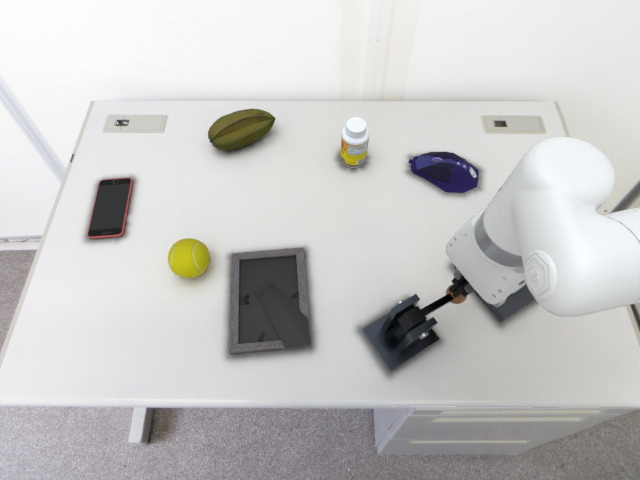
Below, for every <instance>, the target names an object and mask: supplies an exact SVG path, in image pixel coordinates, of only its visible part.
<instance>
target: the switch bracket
mask: <svg viewBox="0 0 640 480" xmlns="http://www.w3.org/2000/svg"><path fill="white" fill-rule="evenodd" d="M420 300H421V298H420V297H419V295H418V294H417V293H415V294H413V295H410V296H409V297H408V298H406V299H401V300H399V301H397V303H395V306H394V307H392V308H391V309H390V311H388V312H387V313H386V314H384V315H383V316H381V317H379V318H378V319H376V320H374V321H373V322H371V323H369V324H368V325H366V326H364V327H363V328H362V332H363V334H364V335H365V337H366V339H367V340H368V342H369V343H370V345H371V346H372V348H373V349H374V351H375V352H376V354H377V355H378V357H379V359H380V360H381V361H382V363H383V365H384V366H385V368H386V369H387V371H388V372H389V373H391V372H393V371H395V370H396V369H398V368H399V367H400V366H402V365H403V364H405V363H406V362H409V361H410V360H411V359H412V358H414V357H416V356H417V355H419V354H420V353H422V352H424V351H425V350H426V349H428V348H429V347H431V346H432V345H434V344H436V342H439V340H441V339H440V337H439V336H438V334H437V333H436V332H435V330H434V327H435V326H436V325H437V324H439V322H438V321H437V320H436V318H435V317H434V316H432V317H431V318H429V319H427V318H426V319H425V320H424V321H423V322H422V323H421V324H420V325H418V326H417V327H415V328H413V329H411V330H410V331H408V332H406V331H405V330H404V329H403V327H402V326H401V324H400V323H399V321H398V319H399V318H400V317H401V316H402V315H403V314H404V313H405V312H407V311H409V310H410V309H412V308H414V307H416V306H417V305H418V303H419V302H420Z"/></svg>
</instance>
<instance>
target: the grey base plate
mask: <svg viewBox="0 0 640 480" xmlns="http://www.w3.org/2000/svg"><path fill="white" fill-rule="evenodd" d="M454 269H455V266H454ZM476 295H477V297H478V298H479V299H480V300H481V302H483V304H484V306H486V307H487V309H488V310H489V311H490V312H491V314H492V315H493V316H494V317H495V319H497V321H498V322H499V323H501V322H503V321H505V320H506V319H508V318H509V317H511V316H512V315H513V314H515V313H516V312H518V311H519V310H521V309H522V308H524V307H526V306H527V305H528V304H530V303H531V302H533V301H535V298H534V297H533V295H532V293H531V292H530V290H529V289H528V287H527V284H525V285H524V286H523V287H522V288H521V289H519V290H518V291H517V292H515V293H514V294H512V293H511V294H510V295H509V296H508V297H507V298H506V300H505V303H503V304H502V305H500V306H499V307H497V308H496V307H494V306H493V305H492V304H489V303H487V302H486V301H485V300H484V299H483V298H482V297H481V296H480V295H478V294H476Z"/></svg>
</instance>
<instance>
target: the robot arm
mask: <svg viewBox="0 0 640 480" xmlns="http://www.w3.org/2000/svg"><path fill="white" fill-rule="evenodd" d="M616 181H617V180H616V171H615V167H614V166H613V164H612V162H611V161H610V159H609V158H608V157H607V155H606V154H605V153H603V152H602V151H601V150H600V149H599V148H598V147H596V145H593V144H591V143H590V142H588V141H585V140H582V139H579V138H576V137H571V136H554V137H549V138H546V139H543V140H541V141H539V142H537V143H535V144H534V145H532V146H531V147H530V148H529V149H528V150H527V151H526V152H525V153H524V155H523V156H521V158H520V160H519V161H518V163H516V165H515V166H514V168H513V170H512V171H511V172H510V174H509V175H508V176H507V178H506V180H504V182H503V184H502V185H501V186H500V188H499V189H498V191H497V192H496V194H495V195H494V196H493V197H492V199H491V201H490V202H488V204H487V206H485V207H484V208H482V209H481V210H479V211H478V212H477V213H475V214H474V215H472V217H470V218H469V219H468V220H466V221H465V222H464V223H463V224H462V226H460V227H459V229H457V230H456V232H454V234H453V235H452V236H451V237H450V238H449V240H448V241H447V243H446V244H445V254H446V256H447V257H448V259H449V260H450V262H452V264H453V266H454V267H455V268H454V271H453V278H452V280H451V283H452V284H453V285H452V284H451V285H452V286H451V287H450V288H449V289H448V290H449V291H450V292H452V293H453V292H454V293H453V296H454V297H455V298H456V297H458V296H459V295H461V294H462V295H463V296H464V297H466V296H467V297H468V296H469V295H470V294H472V293H474V294H476V295H477V294H478V295H480V296H481V297H482V298H483V299H484V300H485V301H486V302H487V303H489V304H492V305H493V306H494V307H496V308H497V307H499V306H500V305H502V304H503V303H505V300H506V298H507V297H508V296H509V295H510V294H511V293H512V294H514V293H515V292H517V291H518V290H519V289H521V288H522V287H523V286H524V285H525V284H527V287H528V289H529V290H530V292H531V293H532V295H533V297H534V298H535V299H534V301H536V303H537V304H538V305H539V306H540V308H542V309H543V310H544V311H546V312H547V313H549V314H551V315H554V316H557V317H562V318H573V317H574V318H575V317H582V316H587V315H588V316H589V315H591V314H592V315H593V314H596V313H601V312H605V311H610V310H615V309H619V308H623V307H627V306H630V305H636V304H640V206H639V207H633V208H628V209H623V210H618V211H614V212H609V213H604V214H600V213H599V212H598V210H599V209H600V208H601V207H602V206H603V205H604V204H606V202H607V201H608V200H609V199H610V197H611V196H612V194H613V192H614V189H615V186H616ZM478 295H477V296H478Z"/></svg>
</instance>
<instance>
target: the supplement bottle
mask: <svg viewBox="0 0 640 480" xmlns="http://www.w3.org/2000/svg"><path fill="white" fill-rule="evenodd" d="M370 135H371V134H370V130H369V128H368V126H367V121H366V120H365V119H363V118H361V117H358V116H354V117H353V116H352V117H350V118H349V119H348V120H347V121H346V123H345V125H344V127H343V128H342V130H341V135H340V136H341V138H340V161H341V162H342V164H343V165H344V166H346V167H347V168H352V169H356V168H360V167H361V166H363V165H364V164H365V162H366V160H367V156H368V149H369V142H370Z"/></svg>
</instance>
